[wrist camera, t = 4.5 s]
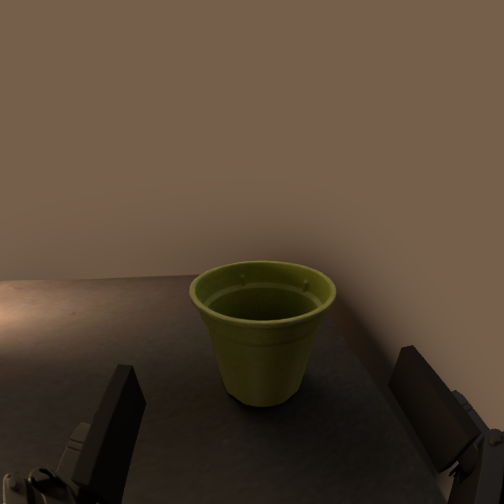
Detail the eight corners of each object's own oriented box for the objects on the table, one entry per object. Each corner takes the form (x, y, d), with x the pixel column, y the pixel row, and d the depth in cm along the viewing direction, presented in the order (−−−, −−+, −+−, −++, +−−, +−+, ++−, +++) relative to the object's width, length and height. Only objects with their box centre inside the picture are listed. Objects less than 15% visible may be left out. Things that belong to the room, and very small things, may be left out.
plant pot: (207, 347, 25) (198, 261, 22) (306, 343, 25) (314, 257, 22) (198, 426, 16) (176, 324, 13) (333, 416, 16) (359, 315, 14)
